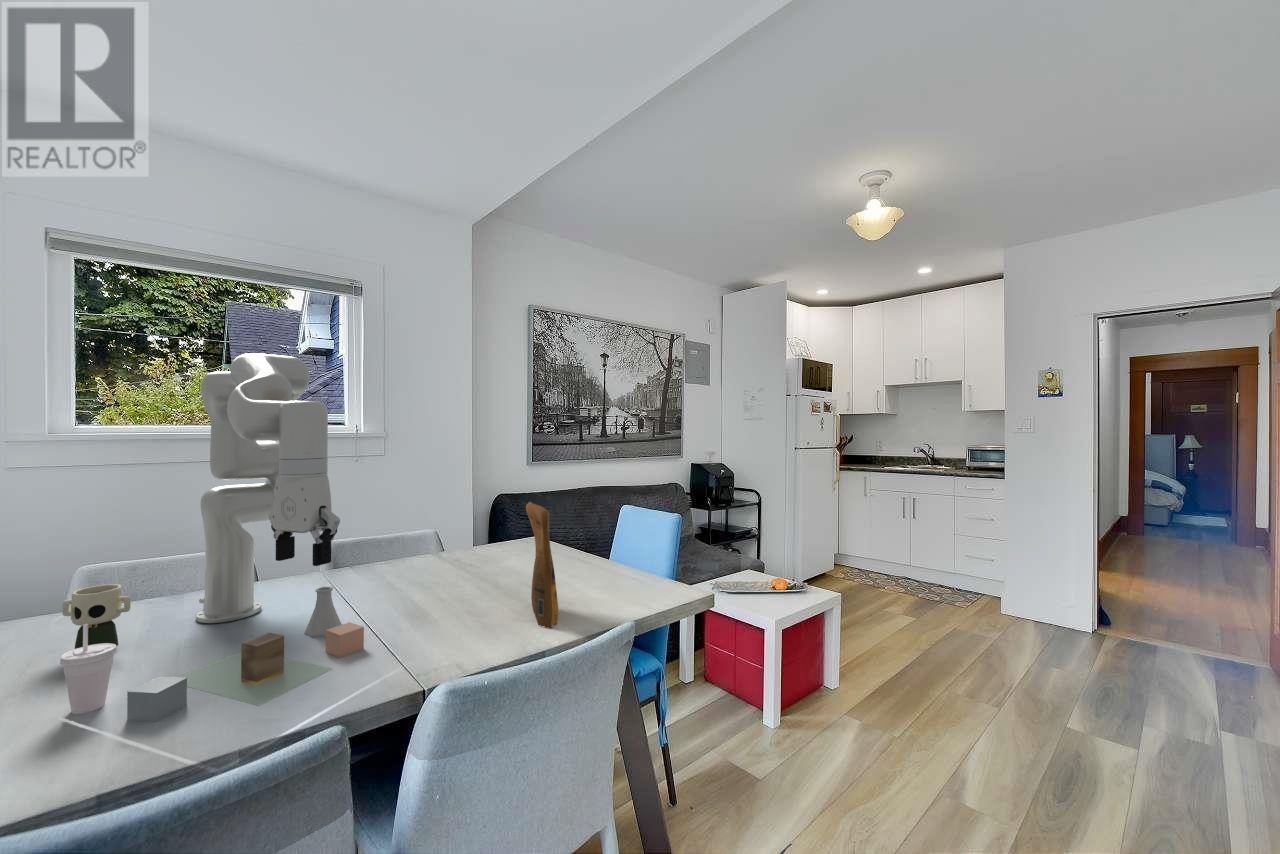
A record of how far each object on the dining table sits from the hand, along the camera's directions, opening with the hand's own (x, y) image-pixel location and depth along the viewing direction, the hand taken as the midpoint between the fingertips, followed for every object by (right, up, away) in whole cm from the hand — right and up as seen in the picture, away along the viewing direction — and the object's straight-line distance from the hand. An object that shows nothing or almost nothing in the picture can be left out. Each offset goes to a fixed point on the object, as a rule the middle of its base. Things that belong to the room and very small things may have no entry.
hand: (303, 561), depth 96 cm
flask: (-10, -22, +22) cm, 33 cm away
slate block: (-16, -22, -11) cm, 29 cm away
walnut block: (-8, -21, 0) cm, 23 cm away
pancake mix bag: (+38, -23, +33) cm, 55 cm away
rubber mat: (-10, -22, +1) cm, 24 cm away
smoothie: (-28, -22, -10) cm, 37 cm away
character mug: (-49, -21, +10) cm, 54 cm away
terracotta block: (+1, -22, +12) cm, 25 cm away
